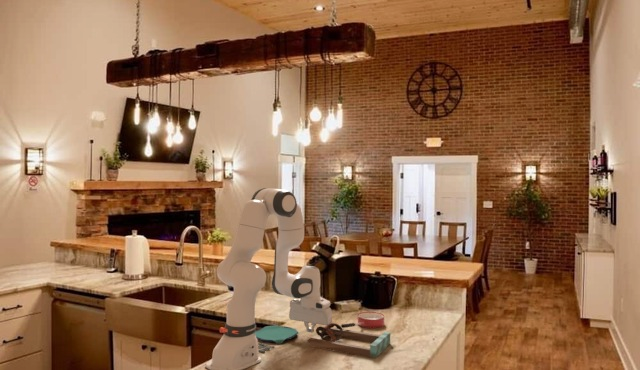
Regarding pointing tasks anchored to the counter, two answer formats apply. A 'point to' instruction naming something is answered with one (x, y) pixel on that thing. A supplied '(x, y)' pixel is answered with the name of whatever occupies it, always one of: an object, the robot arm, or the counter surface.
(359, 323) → the frying pan
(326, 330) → the dark brown looped piece
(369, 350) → the guide
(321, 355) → the counter surface
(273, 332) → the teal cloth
